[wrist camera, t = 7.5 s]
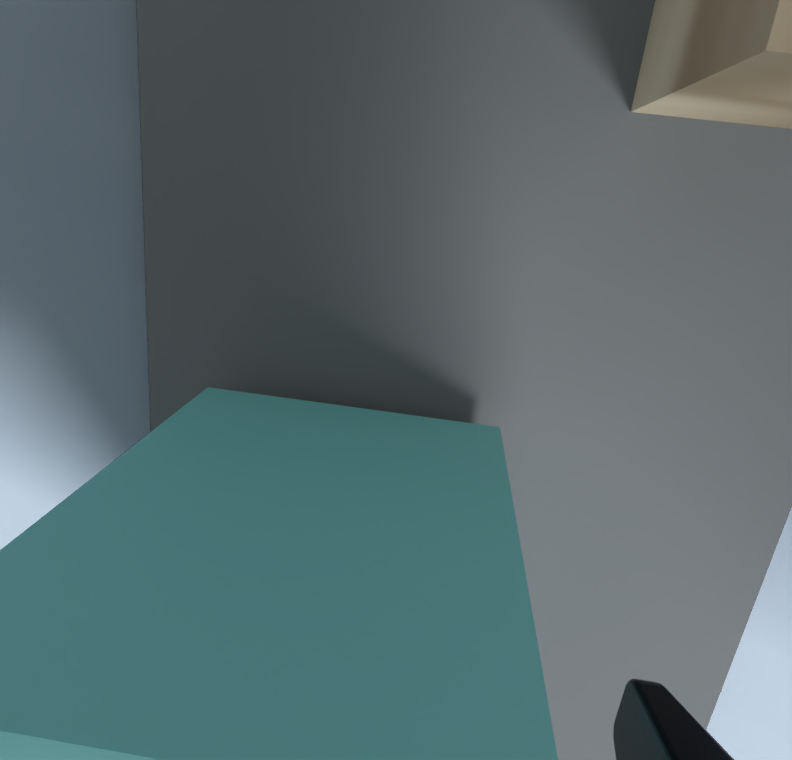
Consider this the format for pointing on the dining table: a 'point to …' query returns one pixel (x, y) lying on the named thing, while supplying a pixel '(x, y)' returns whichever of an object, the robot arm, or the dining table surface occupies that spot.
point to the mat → (495, 292)
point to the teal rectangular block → (277, 596)
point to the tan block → (718, 62)
